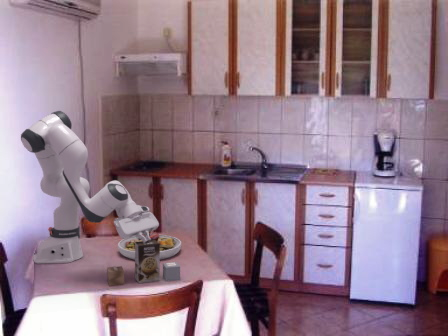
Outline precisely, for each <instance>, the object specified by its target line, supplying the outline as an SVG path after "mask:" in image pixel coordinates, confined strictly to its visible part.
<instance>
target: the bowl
mask: <svg viewBox="0 0 448 336" xmlns="http://www.w3.org/2000/svg"><path fill="white" fill-rule="evenodd" d="M142 235H143V234H142ZM143 236H144V237H145V235H143ZM149 237H150V239H151V240H156V241H157V242H158V243H159V244H160V261H161V260H165V259H169V258H171V257H174V256H175V255H177V254H178V253H179V251H180V250H181V248H182V241H181V240H180V239H179V238H177V237H175V236H170V235H165V234H159V233H157V232H156V231H154V232H152V233H151V234H150V232H149ZM140 241H142V240H141V239H139V238H138V237H137V236H133V237H129V238H126V239H121V240H120V241H119V242H118V243H117V248H118V251H119V253H120V254H121V255H122V256H124V257H126V258H128V259H130V260H134V261H135V242H140Z"/></svg>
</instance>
